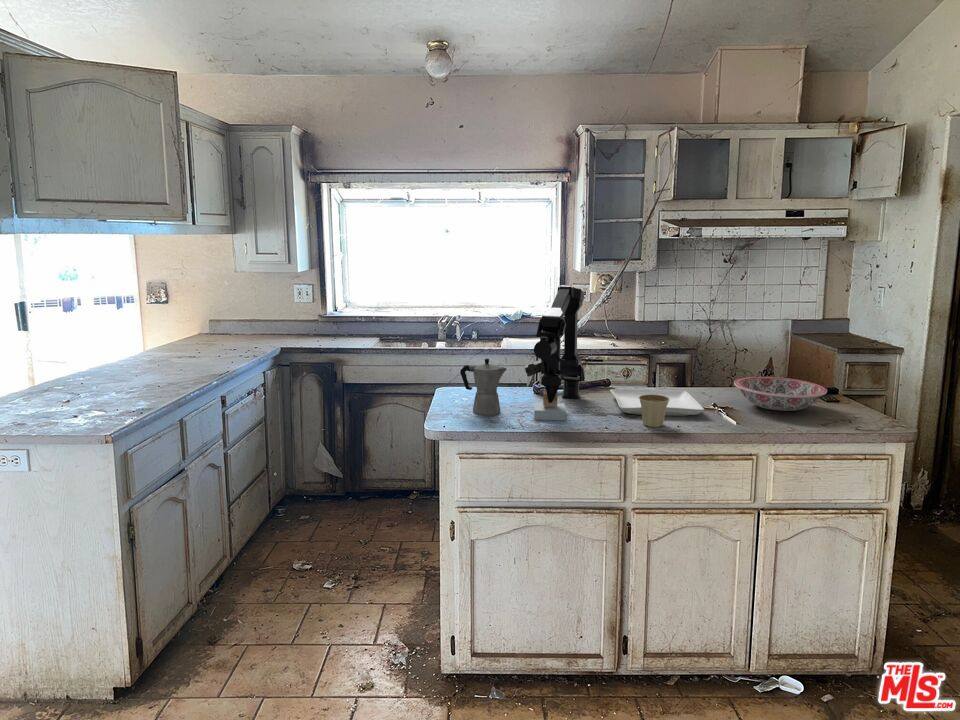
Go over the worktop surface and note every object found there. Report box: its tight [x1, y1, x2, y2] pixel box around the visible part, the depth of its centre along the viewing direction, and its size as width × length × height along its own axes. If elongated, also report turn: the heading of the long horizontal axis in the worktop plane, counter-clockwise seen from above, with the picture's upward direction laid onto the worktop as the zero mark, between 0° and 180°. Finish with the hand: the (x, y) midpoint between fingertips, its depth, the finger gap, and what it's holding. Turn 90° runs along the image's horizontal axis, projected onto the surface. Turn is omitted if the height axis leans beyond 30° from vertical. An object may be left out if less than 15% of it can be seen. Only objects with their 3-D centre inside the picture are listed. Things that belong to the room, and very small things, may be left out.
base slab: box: [533, 402, 567, 421], centre depth 224 cm, size 10×10×3 cm
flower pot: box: [639, 394, 670, 428], centre depth 214 cm, size 9×9×9 cm
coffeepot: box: [459, 358, 508, 416], centre depth 228 cm, size 15×9×18 cm, turn 88°
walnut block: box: [542, 389, 558, 406], centre depth 223 cm, size 4×4×4 cm
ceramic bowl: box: [734, 376, 828, 412], centre depth 235 cm, size 29×29×8 cm
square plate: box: [609, 388, 705, 417], centre depth 236 cm, size 27×27×4 cm
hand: (550, 400), depth 224 cm, fingers closed on walnut block, 4 cm apart
